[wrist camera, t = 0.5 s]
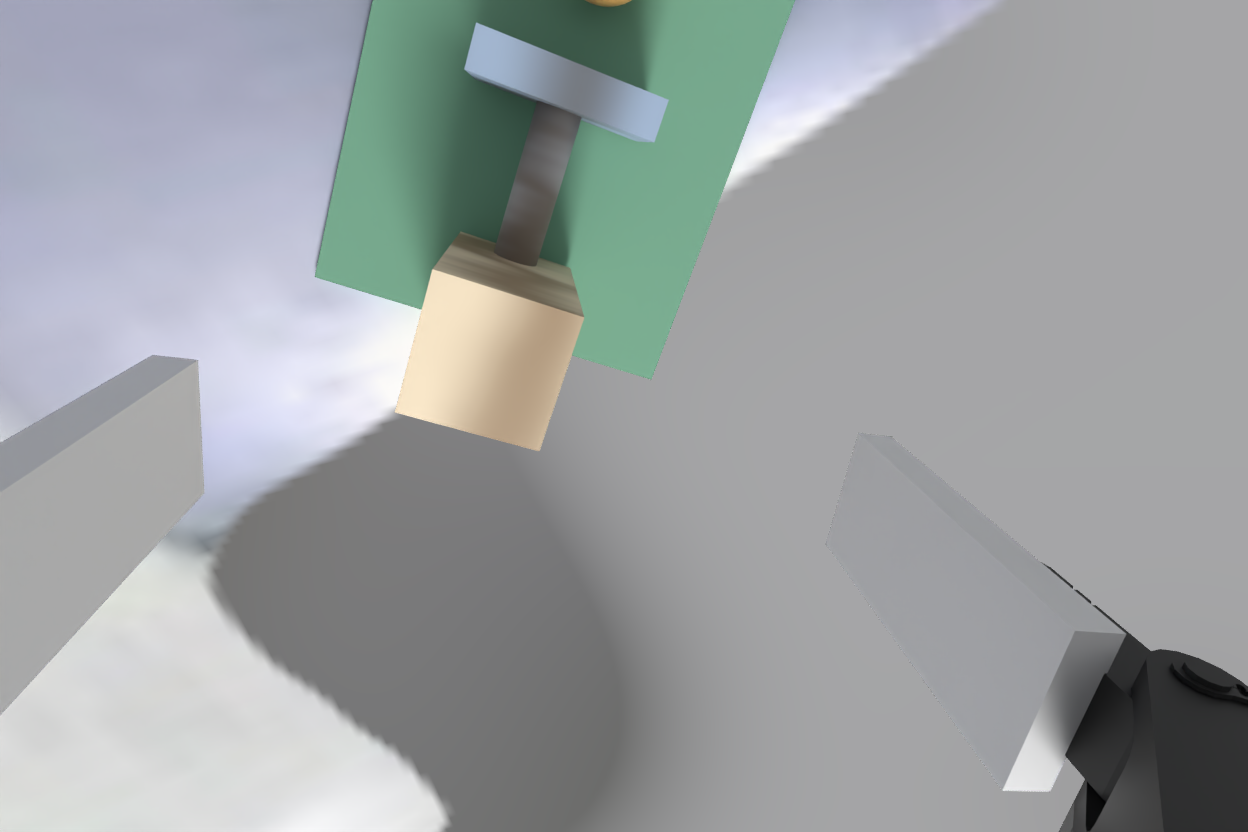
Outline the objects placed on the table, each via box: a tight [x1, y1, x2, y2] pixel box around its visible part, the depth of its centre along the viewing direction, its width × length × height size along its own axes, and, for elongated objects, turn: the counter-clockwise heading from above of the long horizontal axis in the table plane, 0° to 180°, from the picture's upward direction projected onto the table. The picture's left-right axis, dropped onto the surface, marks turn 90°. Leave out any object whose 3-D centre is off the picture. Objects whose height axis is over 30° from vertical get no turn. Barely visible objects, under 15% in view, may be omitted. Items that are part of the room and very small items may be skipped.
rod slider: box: [395, 23, 669, 451], centre depth 27 cm, size 7×12×10 cm, turn 160°
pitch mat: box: [315, 0, 795, 379], centre depth 30 cm, size 16×26×1 cm, turn 160°
